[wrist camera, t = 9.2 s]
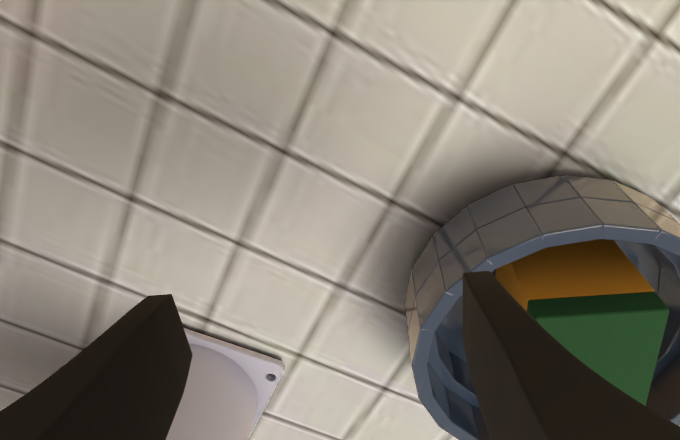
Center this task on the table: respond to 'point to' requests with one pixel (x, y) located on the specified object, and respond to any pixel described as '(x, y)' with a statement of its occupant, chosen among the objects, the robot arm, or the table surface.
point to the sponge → (594, 309)
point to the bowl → (515, 243)
